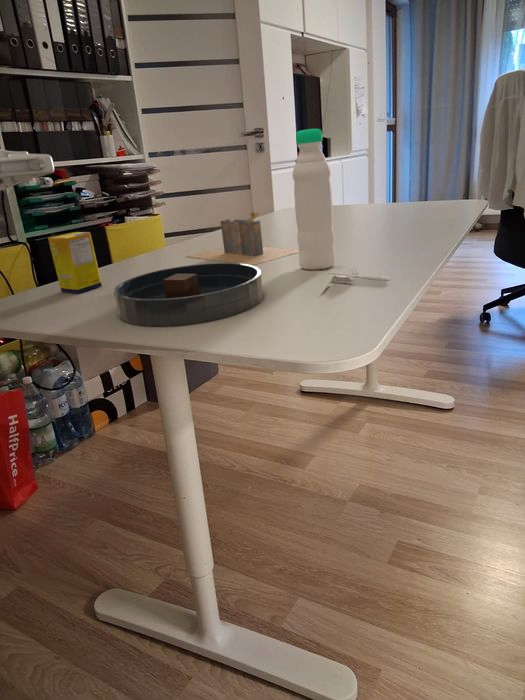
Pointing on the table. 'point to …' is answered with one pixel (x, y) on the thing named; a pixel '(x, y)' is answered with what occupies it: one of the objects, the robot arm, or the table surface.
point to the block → (181, 286)
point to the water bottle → (313, 203)
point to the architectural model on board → (243, 244)
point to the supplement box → (75, 262)
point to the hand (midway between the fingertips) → (21, 165)
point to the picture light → (349, 277)
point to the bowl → (213, 302)
